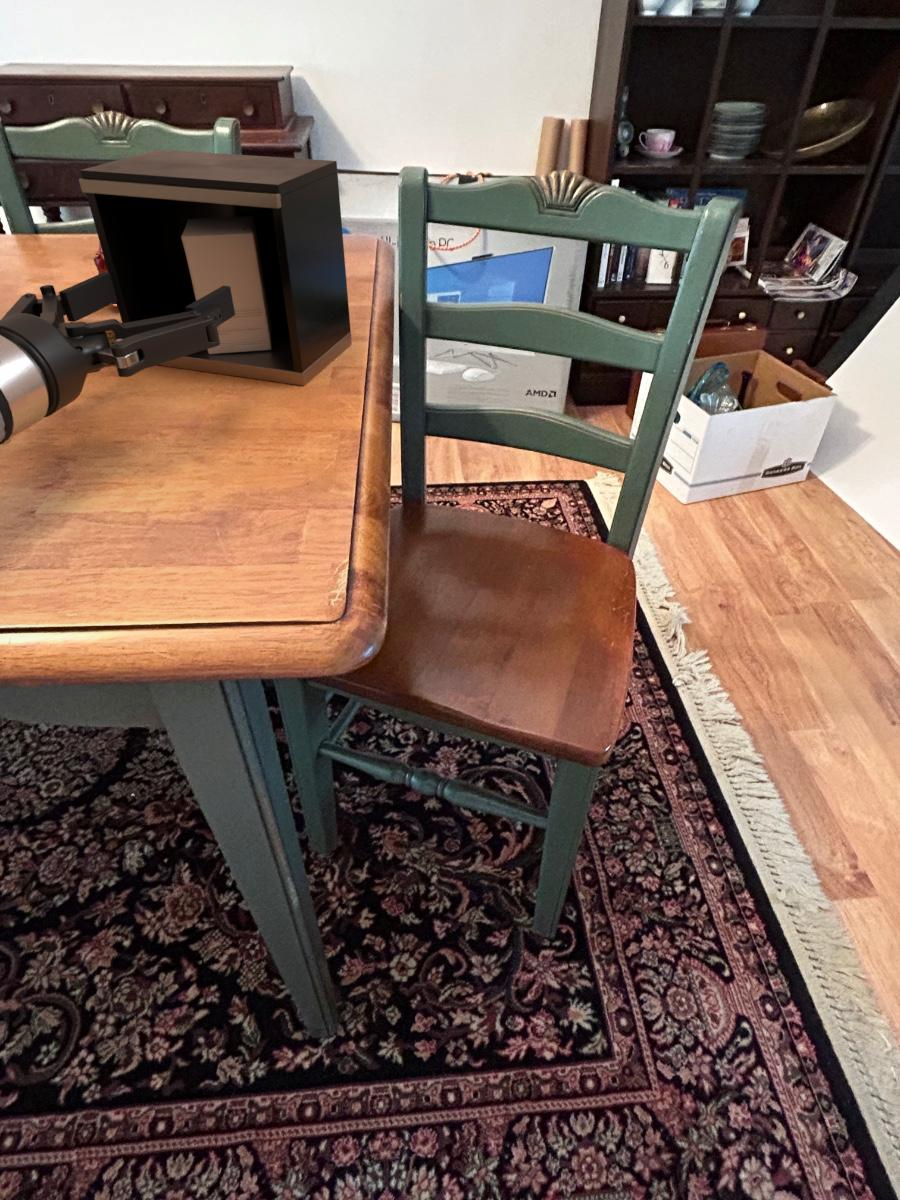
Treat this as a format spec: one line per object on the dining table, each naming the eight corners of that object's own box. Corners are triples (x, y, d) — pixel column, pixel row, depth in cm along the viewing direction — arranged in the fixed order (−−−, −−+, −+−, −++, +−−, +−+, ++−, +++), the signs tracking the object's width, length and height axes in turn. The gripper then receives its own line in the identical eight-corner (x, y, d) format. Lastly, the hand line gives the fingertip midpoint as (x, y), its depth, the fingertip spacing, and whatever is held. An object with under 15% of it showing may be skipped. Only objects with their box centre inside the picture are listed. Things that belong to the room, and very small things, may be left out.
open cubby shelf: (130, 363, 85) (75, 171, 72) (195, 324, 95) (157, 149, 82) (302, 388, 80) (275, 186, 67) (351, 344, 90) (336, 160, 77)
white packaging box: (273, 328, 89) (256, 214, 81) (272, 351, 84) (254, 231, 76) (210, 332, 88) (187, 217, 80) (206, 355, 83) (180, 234, 75)
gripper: (-92, 400, 63) (75, 318, 78) (161, 443, 57) (287, 345, 72) (-137, 310, 58) (51, 242, 73) (134, 347, 52) (276, 264, 68)
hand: (168, 293), depth 73 cm, fingers open, 13 cm apart
